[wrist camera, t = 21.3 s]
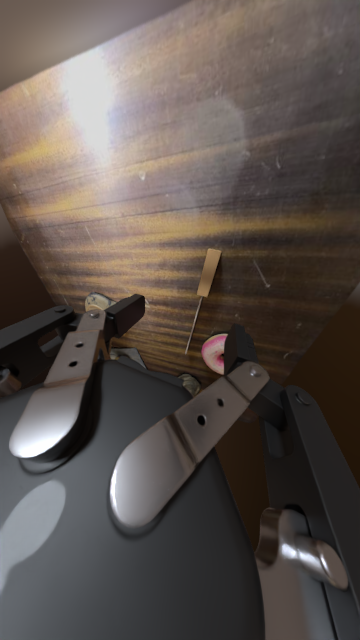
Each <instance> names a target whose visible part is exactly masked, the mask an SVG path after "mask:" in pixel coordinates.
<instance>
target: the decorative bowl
mask: <svg viewBox="0 0 360 640" xmlns="http://www.w3.org/2000/svg"><path fill="white" fill-rule="evenodd" d="M114 304H116V302H115V301H111V300H109V299H107V298H106V297H104V296H102V295H100V294H97V293H95V292H92V293H90V294H89V295H88V296H87V298H86V302H85V308H86V312H87V311H89V310H94V309H100V310H105V309H107V308H108V307H110V306H112V305H114Z"/></svg>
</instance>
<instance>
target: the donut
mask: <svg viewBox="0 0 360 640" xmlns="http://www.w3.org/2000/svg"><path fill="white" fill-rule="evenodd" d="M227 335H228V334H219V335H215V336H213V337H211V338H209V339H208V340H207V341H206V342H205V343H204V345H203V347H202V356H203V359H204V361H205V363H206V364H207V365H208V366H209V367H210V368H211V369H212V370H214V371H216V372H218V373H220V374H223V375H224V356H222V355H221V354H223V353H224V343H225V339H226V337H227Z"/></svg>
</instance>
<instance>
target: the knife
mask: <svg viewBox="0 0 360 640" xmlns="http://www.w3.org/2000/svg"><path fill="white" fill-rule="evenodd" d="M221 252H222V251H220V250H216V249H211V248H210V249H208V252H207V256H206V260H205V264H204V268H203V272H202V276H201V280H200V284H199V287H198V291H197V295H201V299H200V302H199V306H198V309H197V313H196V317H195V320H194V324H193V327H192V331H191V335H190V338H189V342H188V345H187V349H186V353H187V350H188V347H189V343H190V340H191V336H192V333H193V329H194V326H195V322H196V319H197V316H198V312H199V309H200V305H201V302H202V298H203V296H205V297H207V296H208V293H209V290H210V287H211V284H212V281H213V277H214V274H215V271H216V268H217V264H218V261H219V258H220V255H221ZM186 353H185V354H186Z"/></svg>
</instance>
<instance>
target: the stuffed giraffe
mask: <svg viewBox="0 0 360 640" xmlns="http://www.w3.org/2000/svg"><path fill="white" fill-rule="evenodd" d="M121 355H122V356H125V357H127V358H130V359H133V360H135V361H137V362H138V363H139V364H141V365H142V366H143V367H145V365H144V364H143V362H142V359H141V357H140V355H139V353H138V351H137V349H136V348H131V349H115V348H111V353H110V357H111V359H114V360H118V359H119V358H120V356H121ZM145 368H146V367H145Z"/></svg>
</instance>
